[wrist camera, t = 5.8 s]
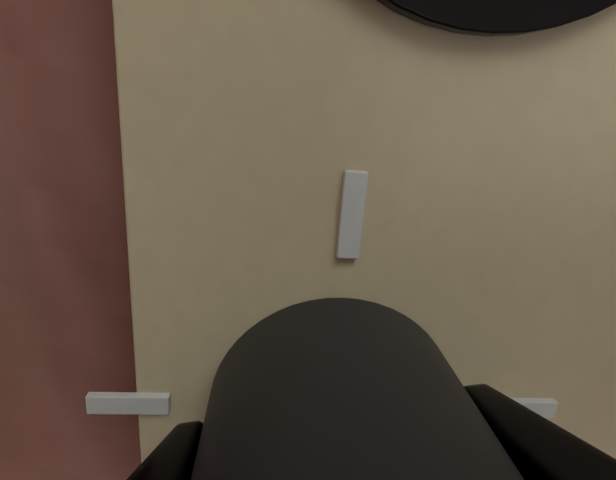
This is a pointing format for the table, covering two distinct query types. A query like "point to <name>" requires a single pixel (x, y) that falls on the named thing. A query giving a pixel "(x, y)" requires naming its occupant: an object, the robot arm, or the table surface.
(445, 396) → the stove knob
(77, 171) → the table surface
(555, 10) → the burner
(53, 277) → the table surface
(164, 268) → the stove
